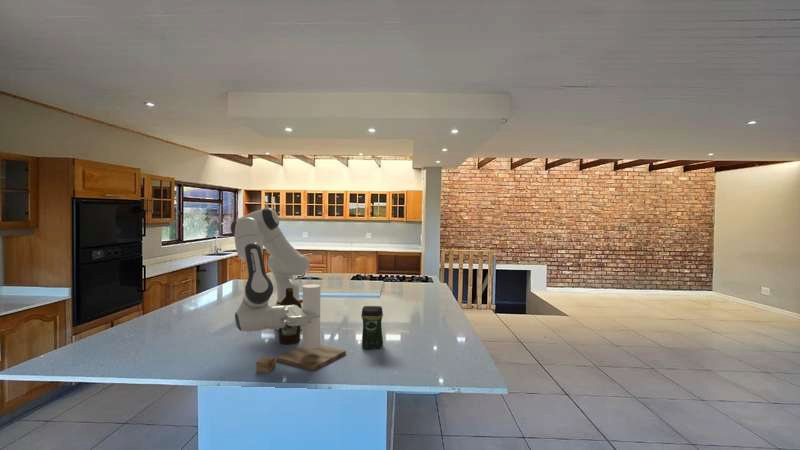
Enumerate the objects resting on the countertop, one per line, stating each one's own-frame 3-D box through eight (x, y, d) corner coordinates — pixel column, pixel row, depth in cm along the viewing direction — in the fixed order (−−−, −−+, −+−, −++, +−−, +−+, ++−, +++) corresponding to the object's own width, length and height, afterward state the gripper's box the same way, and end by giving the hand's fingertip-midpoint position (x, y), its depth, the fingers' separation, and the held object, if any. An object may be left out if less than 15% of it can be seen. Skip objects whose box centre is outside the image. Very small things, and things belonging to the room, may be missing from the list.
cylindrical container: (320, 347, 157) (321, 287, 156) (302, 349, 154) (303, 287, 154) (319, 342, 163) (319, 284, 163) (301, 343, 161) (302, 284, 161)
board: (310, 346, 173) (310, 342, 173) (345, 354, 163) (345, 350, 163) (276, 360, 155) (276, 357, 155) (313, 370, 146) (313, 367, 146)
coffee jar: (383, 344, 176) (384, 304, 175) (381, 350, 168) (382, 308, 167) (363, 343, 176) (363, 303, 176) (360, 349, 168) (360, 308, 168)
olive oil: (278, 338, 183) (278, 286, 182) (301, 336, 186) (301, 285, 185) (276, 345, 173) (276, 291, 172) (301, 344, 175) (300, 290, 174)
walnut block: (264, 366, 150) (264, 356, 150) (275, 368, 149) (275, 357, 149) (256, 371, 145) (256, 361, 145) (268, 373, 144) (267, 362, 144)
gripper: (284, 315, 143) (320, 311, 150) (275, 303, 161) (307, 300, 168) (284, 331, 143) (320, 327, 150) (275, 318, 161) (307, 314, 168)
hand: (313, 313), depth 159 cm, fingers closed on cylindrical container, 7 cm apart
